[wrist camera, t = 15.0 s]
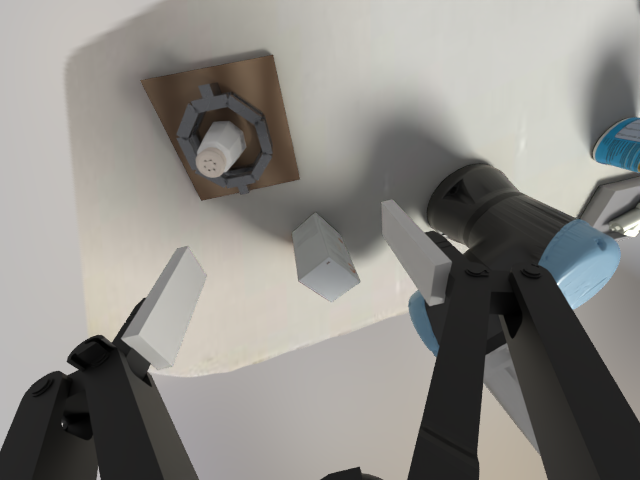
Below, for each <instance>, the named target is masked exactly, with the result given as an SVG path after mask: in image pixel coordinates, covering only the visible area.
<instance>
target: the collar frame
mask: <svg viewBox="0 0 640 480" xmlns="http://www.w3.org/2000/svg"><path fill="white" fill-rule="evenodd" d="M198 87H199V90H200V92H201V95H202V98H199V99H197V100H193V101H191V103H188V105H187V108H186V110H185V113H184V116H183V118H182V121H181V123H180V126H179V129H178V131H177V134H176V135H177V136H179V137H178V138H176V139H177V141H178V143H179V145H180V147H181V149H182V151H183V153H184V155H185V157H186V159H187V161H188V163H189V165H190V167H191V169H192V171H193V170H196V171H195V173H196V174H198V175H200V176H202V177H204V178H206V179H208V180H209V181H211V182H213V183H215V184H217V185H219V186H221V187H223V188H225V187H226V186H227V188H233V187H238V189H239V192H240V194H245V193H249V190H250V185H251V184H252V183H256V180H257V181H258V180H259V179H260V177H261V175H262V173H263V172H264V170H265V168H266V167H267V165H268V163H269V162H270V160H271V158H272V154H273V150H272V147H273V144H272V140H271V136H270V132H269V128H268V125H267V121H266V117H265V115H262V114H263V112H262V111H261V110H259V109H258V108H257V107H255V106H254V105H252V104H251V103H250V102H248V101H247V100H245V99H244V98H243V97H241V96H240V95H238V94H237V93H236V92H235V93H234V94H233V92H227V93H221V90H220V87H219V84H218V82H217V83H211V84H205V85H200V86H198ZM225 107H228V108H230V109H231V110H233V111H234V112H236V113H237V114H239V115H240V116H242V117H243V118H245V119H246V120H248V121H249V122H251V123H252V124H254V125H255V128H256V132H257V135H258V138H259V142H260V145H261V150H260V152H259V154H258V156H257V157H256V159H255V161H254V163H252V164H247V165H242V166H237V167H233V168H231V167H230V168H229V169H228V171H226V172H223V173H222V175H220V176H219V177H215V178H211V177H207V176H205V175H203V174H202V173H201V172H200V171H199V170H198V168H197V166H196V157H197V151H198V149H199V147H200V145H201V143H202V138H201V135H200V133H199V128H200V126H201V124H202V121H203V119H204V116H205V114H206V112H207V111H210V110H215V109H220V108H225Z"/></svg>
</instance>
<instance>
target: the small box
mask: <svg viewBox="0 0 640 480" xmlns="http://www.w3.org/2000/svg"><path fill="white" fill-rule="evenodd" d="M292 238H293V246H294V253H295V260H296V267H297V275H298V281H299V282H300V283H302V284H304V285H305V286H307V287H308V288H310V289H311V290H313V291H314V292H316V293H318V294H319V295H321V296H322V297H324V298H325V299H327V300H328V301H330V302H333V301H334V300H336V299H337V298H339V297H340V296H341V295H343V294H344V293H346V292H347V291H349V290H350V289H351V288H353V287H354V286H356V285H357V284H359V283H360V279H359V277H358V274H357V272H356V270H355V267H354V265H353V263H352V260H351V258H350V255H349V253H348V251H347V248H346V246H345V244H344V241H343V239H342V236H341V235H340V234H339V233H338V232H337V231H336V230H335V229H334V228H332V227H331V226H330V225H329V224H328V223H327V222H326V221H325V220H324V219H323V218H321V217H320V216H319V215H318V214H317V213H316V212H315V213H314V214H313V215H311V216H310V217H309V218H308V219H307V220H306V221H305V222H304V223H302V224H301V225H300V226H299V227H298V228H297V229H296V230H295V231H294V232H292Z"/></svg>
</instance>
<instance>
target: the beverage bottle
mask: <svg viewBox="0 0 640 480" xmlns="http://www.w3.org/2000/svg"><path fill="white" fill-rule="evenodd" d="M593 158H594V160H595V161H596V162H598V163H601V164H606V165H611V166H615V167H619V168H623V169H627V170H630V171H634V172H637V173H640V118H637V117H631V118H627V119H624V120H622V121H620V122H618V123H616V124H615V125H613V126H612V127H611V128H609V129H608V130H607V131H606V132H605V133H604V134H603V135H602V136H601V138H600V139H599V140H598V142H597V144H596V145H595V148H594V150H593Z"/></svg>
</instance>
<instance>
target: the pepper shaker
mask: <svg viewBox="0 0 640 480" xmlns="http://www.w3.org/2000/svg"><path fill="white" fill-rule="evenodd" d="M245 148H246V143H245V139H244V134H243V131H242V130H240V129H239V128H238V127H237V126H235V125H234V124H233V123H232V122H230V121H218V122H213V123H212V125H211V126H210V128H209V130H208V131H207V133H206V134H205V136H204V138H203V140H202V143H201V145H200V147H199V149H198V151H197V157H196V166H197V168H198V170H199V171H200V172H201V173H202V174H203V175H205V176H207V177H211V178H215V177H219V176H220V175H222V173H223V172H226V171H228V169H229V168H230V167H231V166H232V165H233V164H234V163H235V162H236V161H237V160H238V158H239V157H240V156H241V154H242V153H243V151H244V150H245Z"/></svg>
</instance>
